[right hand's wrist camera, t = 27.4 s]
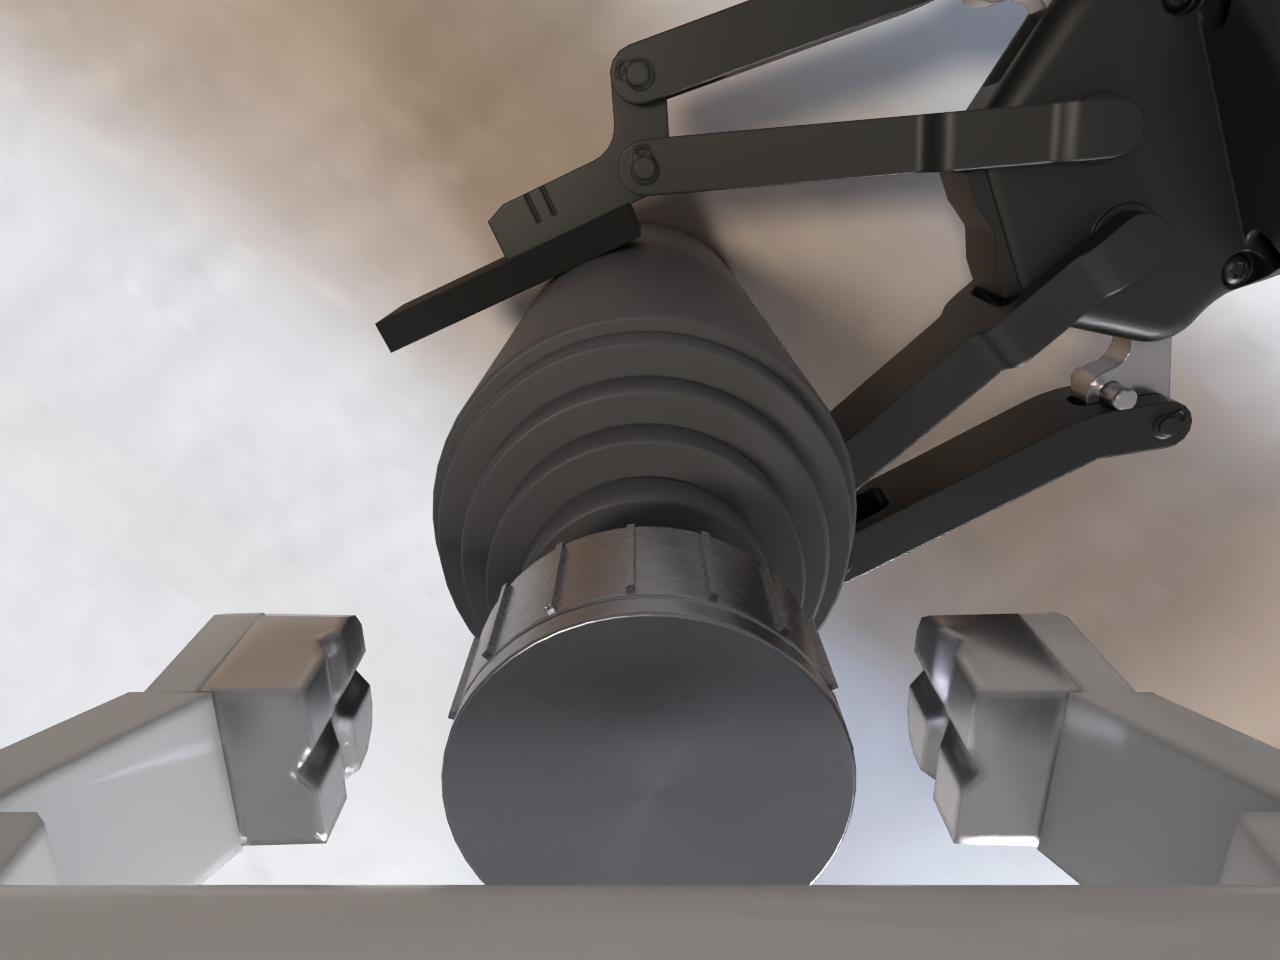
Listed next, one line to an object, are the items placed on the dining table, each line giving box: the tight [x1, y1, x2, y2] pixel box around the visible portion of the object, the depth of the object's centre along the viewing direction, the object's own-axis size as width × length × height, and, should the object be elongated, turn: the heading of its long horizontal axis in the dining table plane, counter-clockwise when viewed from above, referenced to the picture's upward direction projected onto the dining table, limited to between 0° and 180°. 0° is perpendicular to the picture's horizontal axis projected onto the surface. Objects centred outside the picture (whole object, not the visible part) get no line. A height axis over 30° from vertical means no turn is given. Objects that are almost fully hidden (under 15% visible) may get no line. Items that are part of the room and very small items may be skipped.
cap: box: [441, 524, 856, 885], centre depth 9 cm, size 4×4×2 cm
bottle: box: [433, 223, 857, 639], centre depth 19 cm, size 7×7×21 cm
